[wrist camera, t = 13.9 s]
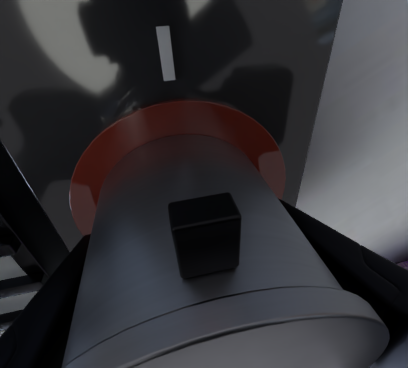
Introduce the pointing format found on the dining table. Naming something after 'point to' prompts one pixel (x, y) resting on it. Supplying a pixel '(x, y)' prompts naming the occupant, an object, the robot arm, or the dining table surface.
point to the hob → (153, 76)
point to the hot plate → (164, 127)
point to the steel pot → (208, 272)
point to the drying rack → (24, 237)
